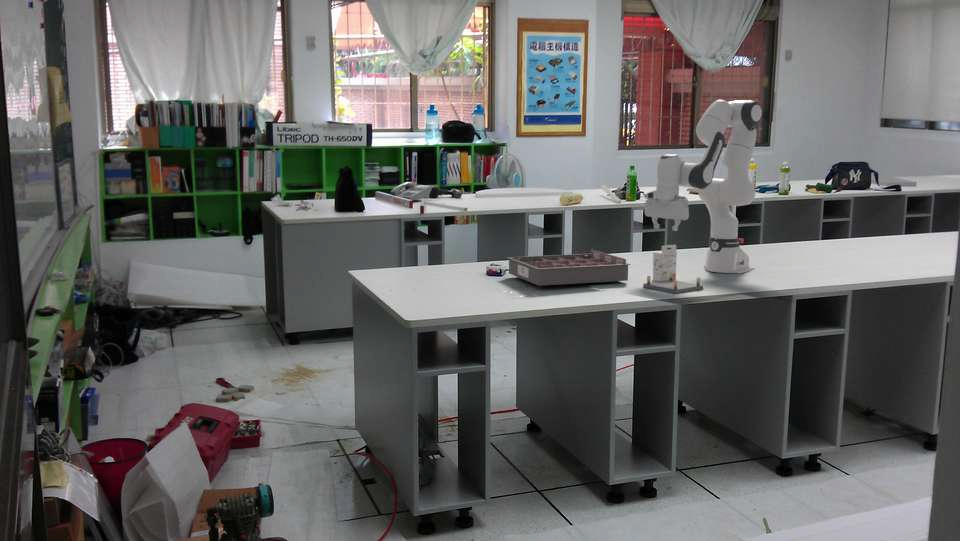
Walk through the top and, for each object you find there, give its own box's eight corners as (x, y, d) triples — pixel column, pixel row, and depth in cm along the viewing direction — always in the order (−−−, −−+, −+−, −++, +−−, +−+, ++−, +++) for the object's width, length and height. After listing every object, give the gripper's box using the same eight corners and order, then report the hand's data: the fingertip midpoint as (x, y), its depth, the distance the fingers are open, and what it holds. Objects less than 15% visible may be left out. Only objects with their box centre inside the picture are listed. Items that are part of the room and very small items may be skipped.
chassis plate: (670, 283, 353) (671, 272, 353) (703, 289, 341) (703, 277, 340) (643, 287, 344) (643, 275, 343) (675, 293, 331) (676, 281, 330)
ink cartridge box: (667, 278, 364) (668, 243, 362) (676, 280, 360) (677, 244, 358) (651, 280, 360) (653, 244, 357) (660, 282, 356) (662, 245, 353)
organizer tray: (506, 276, 368) (506, 252, 366) (593, 271, 381) (593, 248, 380) (537, 289, 338) (537, 263, 337) (630, 284, 352) (631, 259, 350)
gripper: (693, 196, 348) (691, 231, 350) (653, 193, 364) (651, 226, 366) (682, 196, 344) (680, 232, 346) (642, 193, 360) (641, 227, 362)
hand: (665, 229), depth 356 cm, fingers open, 8 cm apart
